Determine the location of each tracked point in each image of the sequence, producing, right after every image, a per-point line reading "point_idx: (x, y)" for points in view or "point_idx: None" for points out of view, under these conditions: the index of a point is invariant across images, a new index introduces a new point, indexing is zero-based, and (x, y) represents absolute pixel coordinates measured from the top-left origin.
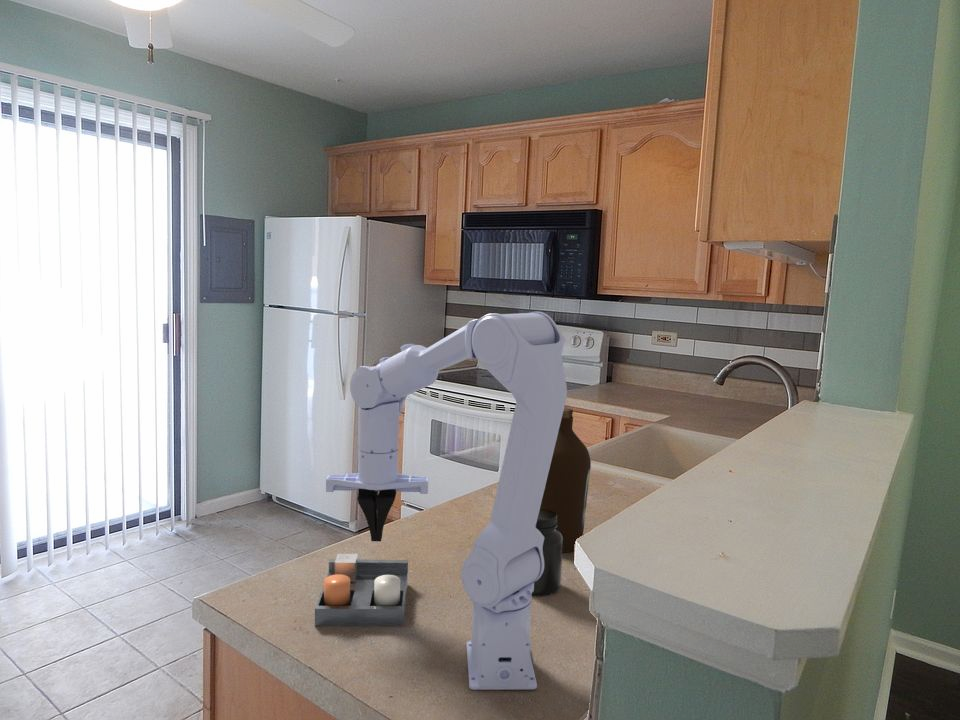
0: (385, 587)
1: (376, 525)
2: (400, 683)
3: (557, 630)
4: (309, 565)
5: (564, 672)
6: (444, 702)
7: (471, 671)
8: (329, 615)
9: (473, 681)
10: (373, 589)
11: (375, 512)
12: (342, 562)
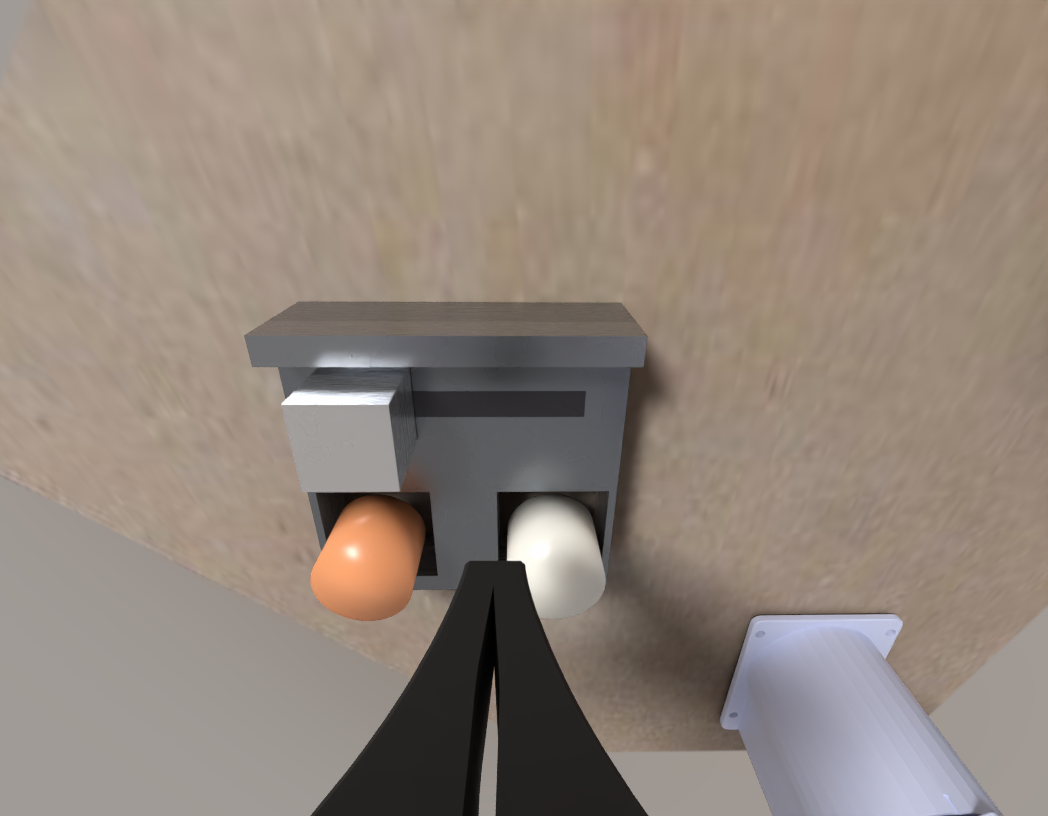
0: (551, 615)
1: (487, 666)
2: (587, 705)
3: (1015, 558)
4: (118, 99)
5: (928, 679)
6: (665, 737)
7: (735, 701)
8: None
9: (731, 721)
10: (497, 485)
11: (475, 811)
12: (338, 491)
